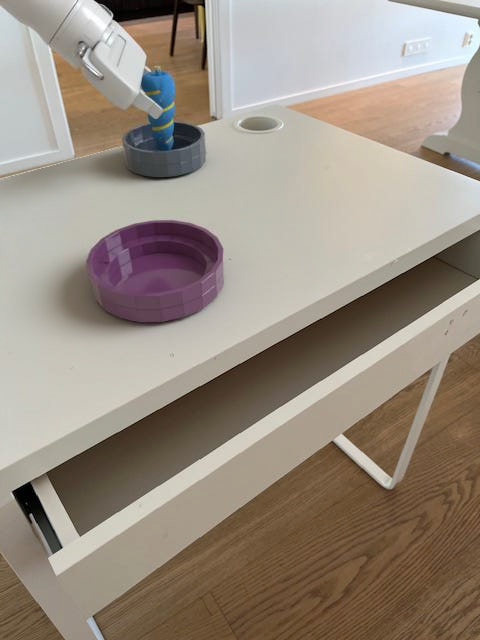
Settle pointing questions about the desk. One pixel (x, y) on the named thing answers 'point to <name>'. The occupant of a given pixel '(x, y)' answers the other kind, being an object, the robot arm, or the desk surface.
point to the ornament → (163, 91)
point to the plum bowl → (156, 270)
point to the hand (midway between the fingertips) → (161, 103)
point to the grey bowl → (174, 162)
